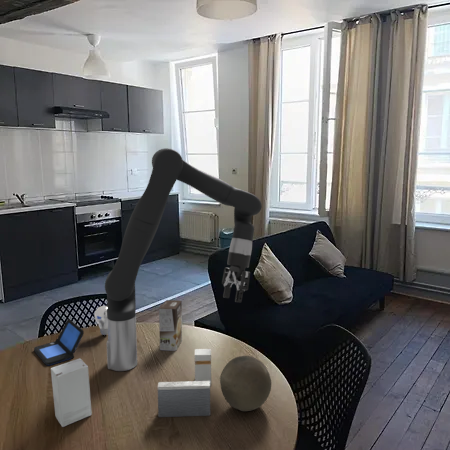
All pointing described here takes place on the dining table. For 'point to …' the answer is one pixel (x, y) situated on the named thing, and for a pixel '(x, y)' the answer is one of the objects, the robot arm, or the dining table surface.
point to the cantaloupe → (245, 383)
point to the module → (203, 365)
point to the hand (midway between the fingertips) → (231, 300)
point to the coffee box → (170, 325)
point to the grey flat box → (184, 398)
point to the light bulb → (102, 319)
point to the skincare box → (71, 392)
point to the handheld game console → (61, 345)
